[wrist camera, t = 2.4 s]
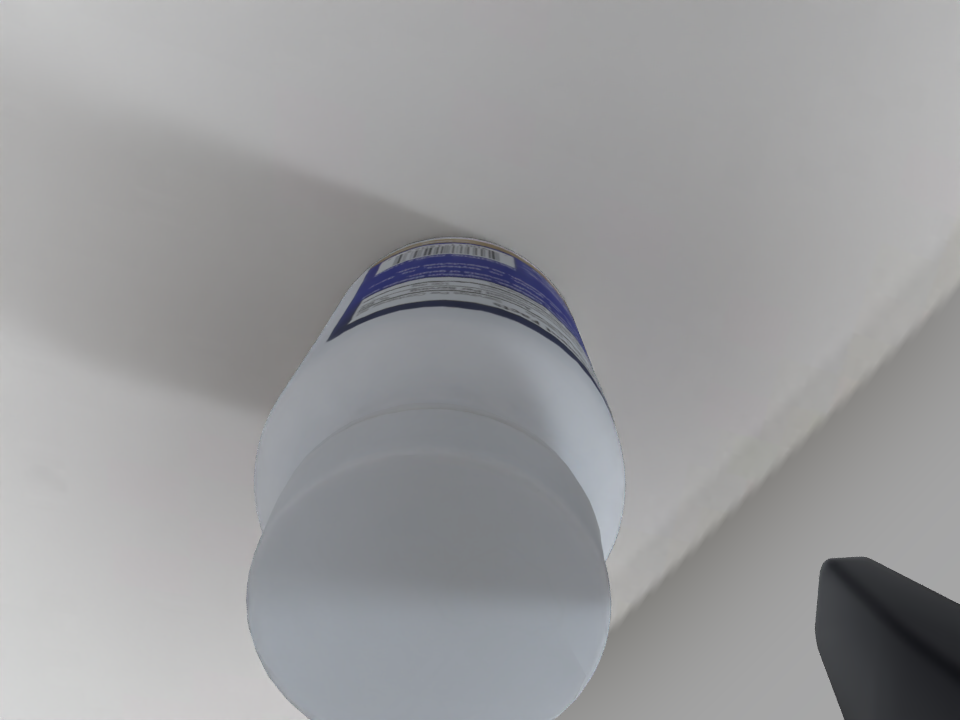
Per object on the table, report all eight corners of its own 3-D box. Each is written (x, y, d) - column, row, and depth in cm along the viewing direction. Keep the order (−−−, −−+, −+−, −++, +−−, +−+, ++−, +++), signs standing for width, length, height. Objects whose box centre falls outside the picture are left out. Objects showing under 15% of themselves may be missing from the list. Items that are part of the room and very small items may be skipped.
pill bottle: (483, 507, 18) (480, 874, 10) (285, 383, 17) (93, 670, 9) (630, 326, 17) (775, 574, 8) (422, 178, 16) (349, 290, 7)
